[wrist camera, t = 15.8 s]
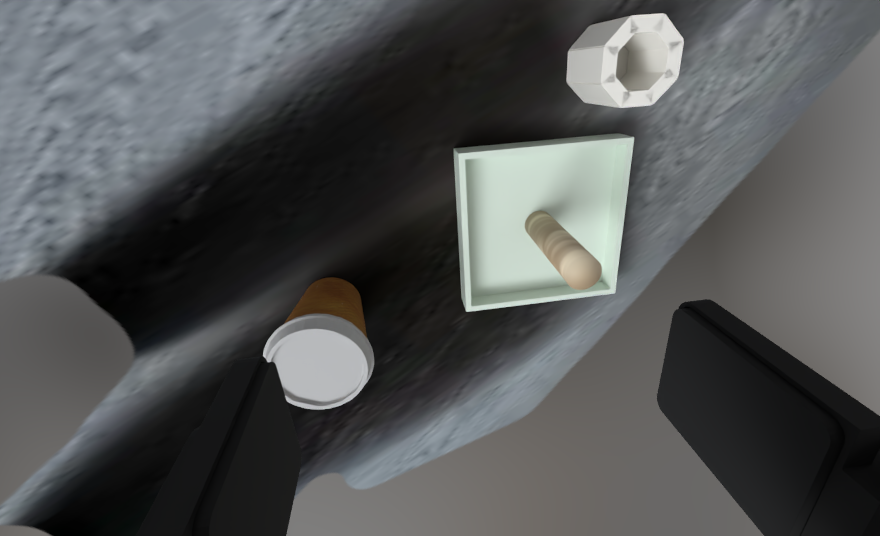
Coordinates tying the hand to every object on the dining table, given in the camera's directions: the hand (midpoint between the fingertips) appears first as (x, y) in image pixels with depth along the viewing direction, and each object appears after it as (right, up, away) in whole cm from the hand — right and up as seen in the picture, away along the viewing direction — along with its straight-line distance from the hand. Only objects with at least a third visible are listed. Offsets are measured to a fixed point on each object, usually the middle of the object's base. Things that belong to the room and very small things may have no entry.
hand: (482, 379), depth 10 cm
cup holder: (+14, +22, +30) cm, 40 cm away
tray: (+9, +8, +36) cm, 38 cm away
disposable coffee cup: (-13, -1, +37) cm, 39 cm away
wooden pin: (+10, +7, +35) cm, 37 cm away
